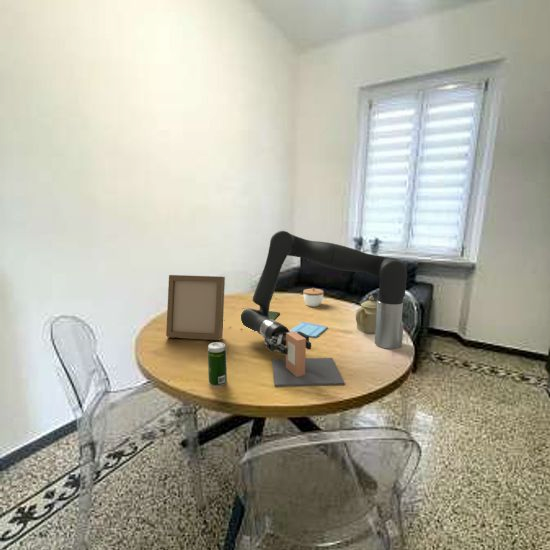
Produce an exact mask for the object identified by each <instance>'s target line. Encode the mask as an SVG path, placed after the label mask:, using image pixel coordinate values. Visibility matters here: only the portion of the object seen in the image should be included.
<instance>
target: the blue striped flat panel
mask: <svg viewBox="0 0 550 550" xmlns="http://www.w3.org/2000/svg"><path fill="white" fill-rule="evenodd" d="M327 329H328V326H326V325H320V324H318V323H317V324H316V323H310V322H306V321H302V322H300V323H299V324H297V325H296V326H294V327H293V328H291V329H290V330H289V332H293V331H295V332H296V333H297V332H298V331H300V332H302V333H304V334H306V335H308V336H309V338H311V339H313V338H315V339H316V338H317V337H319V336H320V335H321V334H322V333H324V331H326V330H327Z"/></svg>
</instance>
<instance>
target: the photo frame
mask: <svg viewBox="0 0 550 550" xmlns="http://www.w3.org/2000/svg"><path fill="white" fill-rule="evenodd" d="M225 281H226V277H225V276H217V275H215V276H214V275H212V276H211V275H181V274H169V275H168V287H167V289H168V291H167V292H168V293H167V312H166V313H167V314H166V328H165V329H166V333H165V335H166V336H167V337H166V336H165V337H166V338H175V337H179V339H193V340H194V339H196V340H214V341H220V340H222V339H223V336H224V335H223V331H224V330H223V329H224V328H223V321H224V308H225V307H224V306H225V305H224V304H225V285H226V283H225ZM221 338H222V339H221Z"/></svg>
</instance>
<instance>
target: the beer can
mask: <svg viewBox="0 0 550 550" xmlns="http://www.w3.org/2000/svg"><path fill="white" fill-rule="evenodd" d="M227 368H228V367H227V347H226V344H225V343H224V342H220V341H219V342H218V341H217V342H211V343H209V344H208V346H207V369H208V371H207V373H208V382H209V385H212V387H214V386H215V387H214V388H217V387H219V386H220V387H222V386H225V385H226V383H227V381H228V373H227V372H228V371H227V370H228V369H227ZM224 384H225V385H224Z"/></svg>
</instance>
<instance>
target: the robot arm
mask: <svg viewBox="0 0 550 550" xmlns="http://www.w3.org/2000/svg"><path fill="white" fill-rule="evenodd" d="M289 256H290V257H295V258H301V259H305V260H308V261H309V262H312V263H315V264H317V265H320V266H323V267H326V268H330V269H335V270H337V271H342V272H343V271H344V272H357V273H366V274H369V275H371V276H374V277H378V278H379V285H378V287H379V288H378V293H377V298H376V299H377V300H376V302H377V313H376V328H375V333H374V344H375V345H376V346H377V347H380V348H384V349H388V350H389V349H398V348H402V347H403V334H404V322H403V320H402V318H403V305H404V298H405V296H406V289H407V288H406V287H407V278H408V270H407V267H406V265H405V264H404V263H403V262H402V261H401V260H400V259H398V258H395V257H389V256H384V255H383V256H382V255H381V256H380V255H375V254H369V253H366V252H365V251H361V250H358V249H355V248H352V247H348V246H345V245H341V244H336V243H333V242H325V241H319V240H318V241H315V240H309V239H305V238H302V237H299V236H296V235H294V234H291V233H289V232H288V231H286V230H278V231H276V232H274V233H273V235H272V236H271V238H270V242H269V247H268V253H267V256H266V257H267V258H266V261H265V264H264V266H263V267H264V268H263V270H262V272H261V276H260V278H259V280H258V283H257V285H256V288H255V291H254V294H253V297H252V302H253V303H254V304H255V305H258V306H259V309H254V308H249V307H248V308H245V309H246V310H244V311H243V312H242V314H241V321H242V323H243V325H244V326H246V327H248V328H250V329H252V330H254V331H253V332H255V331H257V332H256V333H258V334H259V335H260V336H262V338H264V347H265V348H266V349H268V350H269V351H270V352H271V353H273V352H275V351H276V352H279V353H281V354H283V355H284V356H286V355H287V354H288V349H287V348H286V333H288V332H289V331H290V330H289V329H288V328H287V326H286V325H284V324H282V323H280V322H279V321H277V320H276V319H275V320H273V319H271V318H269V317H268V315H269V311H270V305H271V301H272V298H273V296H274V294H275V291H276V288H277V287H276V286H277V283H278V281H279V276H280V272H281V270H282V267H283V264H284V262H285V261H286V259H287V257H289ZM297 333H298V334H299V335H301V336H302V337H304V338H305V339H306V350H311V349H312V342H310V337H309V336H308V335H306V334H304V333H302V332H300V331H298V332H297Z"/></svg>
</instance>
